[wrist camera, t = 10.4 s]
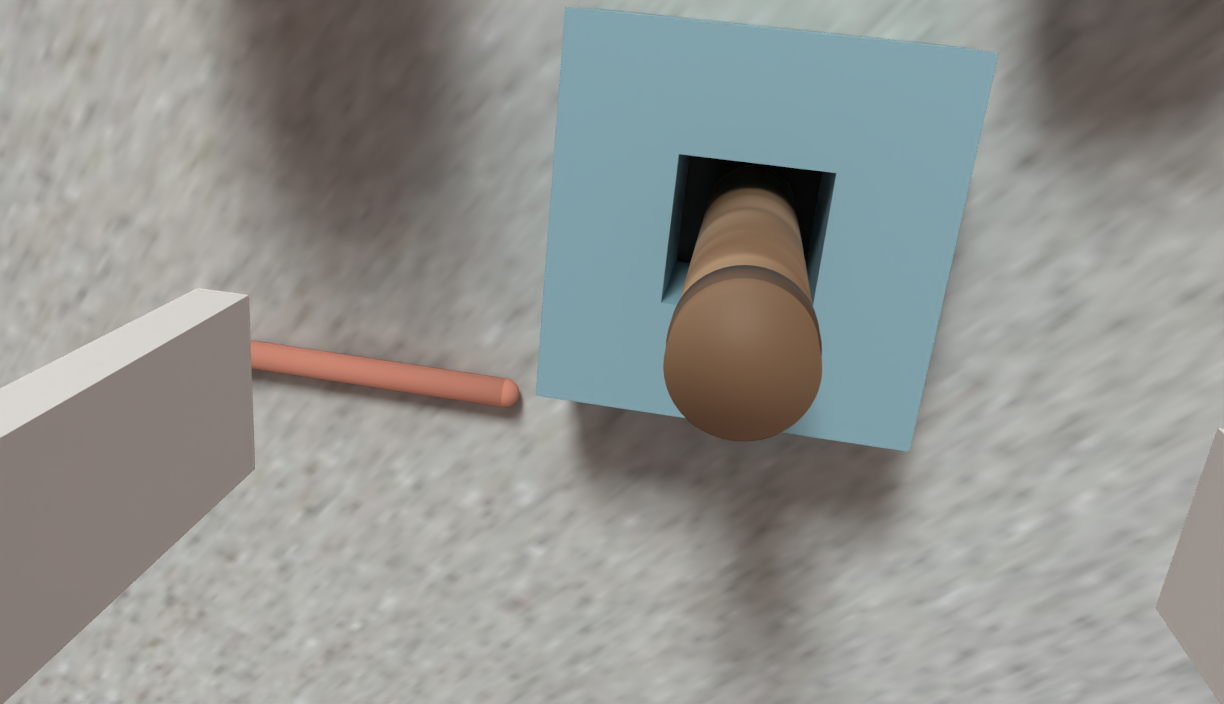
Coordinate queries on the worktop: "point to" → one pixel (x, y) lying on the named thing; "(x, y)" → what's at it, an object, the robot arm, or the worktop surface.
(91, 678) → the worktop surface
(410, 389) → the salmon red rod
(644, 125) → the blue square hole block
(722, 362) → the round wooden peg
